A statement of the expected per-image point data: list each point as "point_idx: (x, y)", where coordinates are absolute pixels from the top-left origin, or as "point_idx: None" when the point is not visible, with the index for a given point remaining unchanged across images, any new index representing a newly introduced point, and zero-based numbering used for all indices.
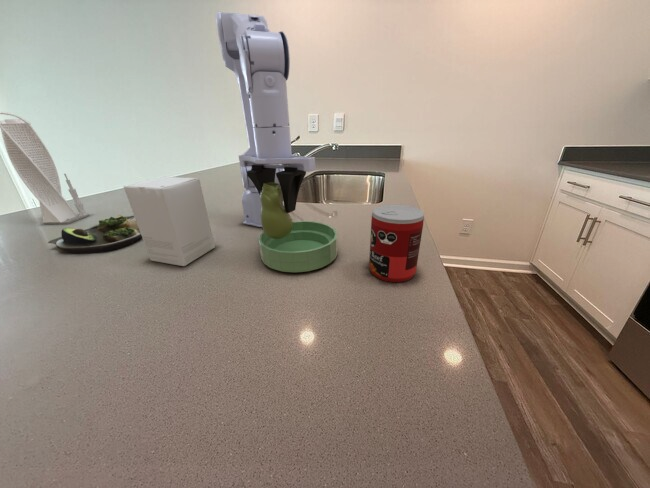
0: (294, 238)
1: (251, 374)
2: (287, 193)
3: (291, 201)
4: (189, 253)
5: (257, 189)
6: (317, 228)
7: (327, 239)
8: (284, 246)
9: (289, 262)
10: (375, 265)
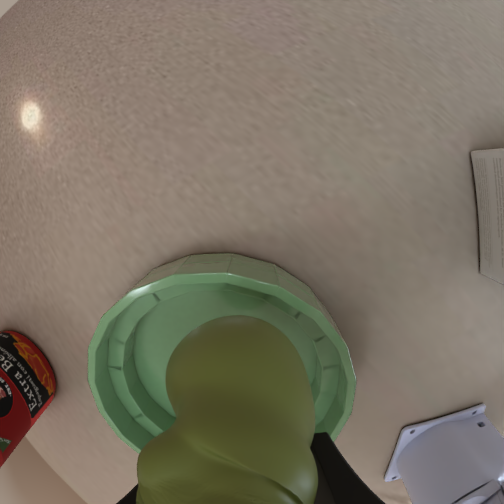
0: None
1: (66, 19)
2: (125, 499)
3: None
4: (490, 179)
5: (373, 499)
6: None
7: None
8: None
9: (157, 273)
10: (11, 348)
